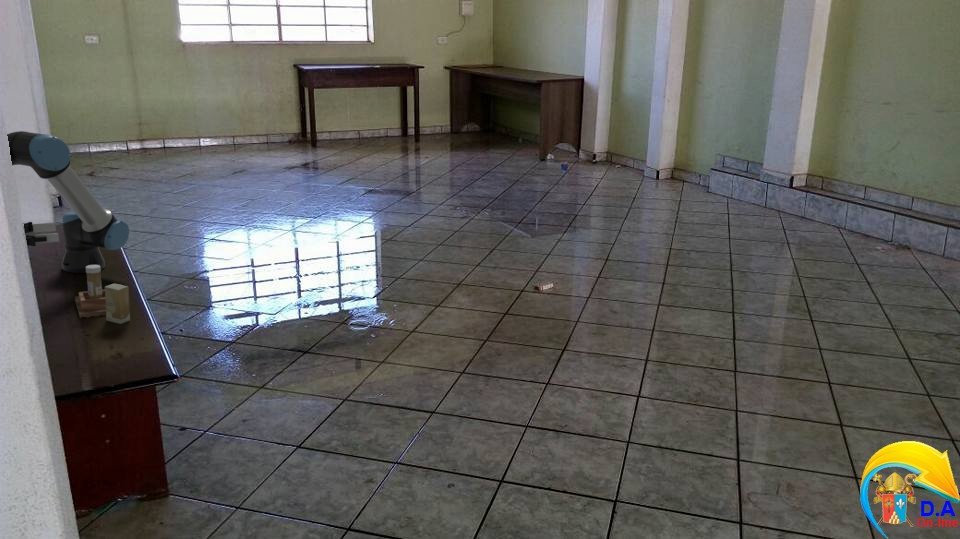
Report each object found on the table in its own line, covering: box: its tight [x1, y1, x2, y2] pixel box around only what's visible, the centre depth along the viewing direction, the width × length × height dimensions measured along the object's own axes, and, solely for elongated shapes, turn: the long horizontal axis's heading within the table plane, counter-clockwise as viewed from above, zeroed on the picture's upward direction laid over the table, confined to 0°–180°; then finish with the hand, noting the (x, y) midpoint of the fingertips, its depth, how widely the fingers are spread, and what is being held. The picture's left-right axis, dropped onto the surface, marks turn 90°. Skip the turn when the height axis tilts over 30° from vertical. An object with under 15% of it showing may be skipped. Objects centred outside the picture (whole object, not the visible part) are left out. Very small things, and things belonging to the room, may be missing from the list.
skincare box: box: [104, 283, 131, 325], centre depth 246 cm, size 6×4×12 cm
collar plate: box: [74, 288, 106, 319], centre depth 257 cm, size 18×12×4 cm, turn 32°
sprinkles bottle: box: [85, 265, 103, 299], centre depth 255 cm, size 5×5×14 cm
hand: (57, 232), depth 244 cm, fingers open, 13 cm apart
